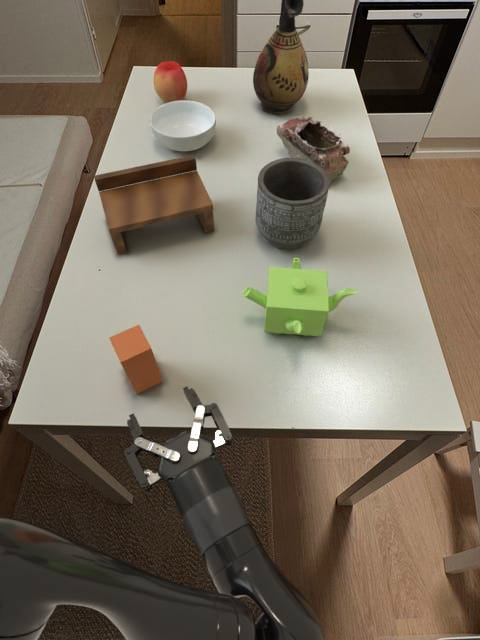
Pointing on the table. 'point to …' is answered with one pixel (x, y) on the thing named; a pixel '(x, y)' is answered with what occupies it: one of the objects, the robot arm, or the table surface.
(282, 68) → the ceramic jug
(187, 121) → the cereal bowl
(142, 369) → the carton
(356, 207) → the table surface
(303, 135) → the decorative box
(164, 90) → the apple
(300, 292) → the kettle
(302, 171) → the planter
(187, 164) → the shelf
